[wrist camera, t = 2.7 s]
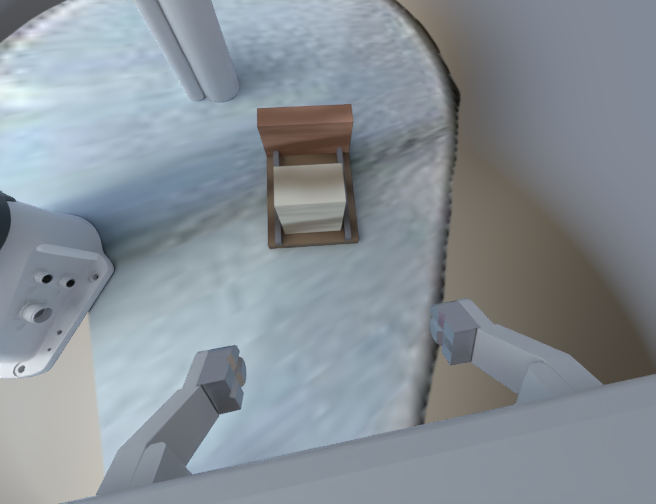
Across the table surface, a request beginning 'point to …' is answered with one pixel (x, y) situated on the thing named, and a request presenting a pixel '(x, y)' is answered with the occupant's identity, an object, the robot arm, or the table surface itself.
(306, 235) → the track
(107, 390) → the table surface
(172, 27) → the vase
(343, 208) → the cream rectangular block
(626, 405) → the robot arm
